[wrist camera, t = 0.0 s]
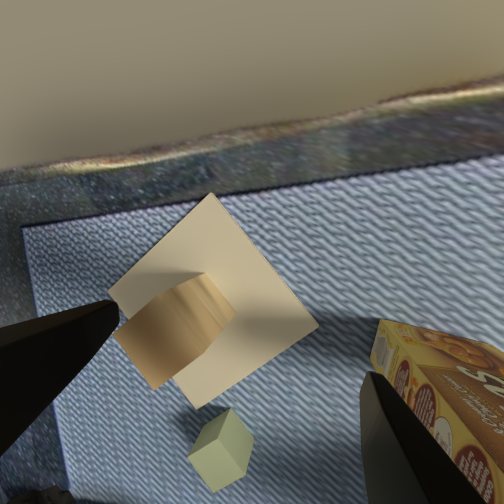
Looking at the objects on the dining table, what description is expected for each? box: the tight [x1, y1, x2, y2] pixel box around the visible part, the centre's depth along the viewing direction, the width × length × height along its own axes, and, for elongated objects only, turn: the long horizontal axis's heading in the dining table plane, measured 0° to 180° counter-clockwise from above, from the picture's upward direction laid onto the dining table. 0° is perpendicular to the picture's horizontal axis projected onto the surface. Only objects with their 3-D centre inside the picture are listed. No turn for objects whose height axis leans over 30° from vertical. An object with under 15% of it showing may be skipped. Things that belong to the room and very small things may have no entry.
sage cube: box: [187, 408, 255, 493], centre depth 25 cm, size 4×4×4 cm
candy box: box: [370, 319, 504, 504], centre depth 14 cm, size 9×4×15 cm, turn 81°
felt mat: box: [107, 193, 319, 410], centre depth 25 cm, size 16×16×1 cm
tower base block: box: [186, 273, 237, 329], centre depth 23 cm, size 5×5×4 cm
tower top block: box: [112, 282, 223, 390], centre depth 19 cm, size 5×5×4 cm
